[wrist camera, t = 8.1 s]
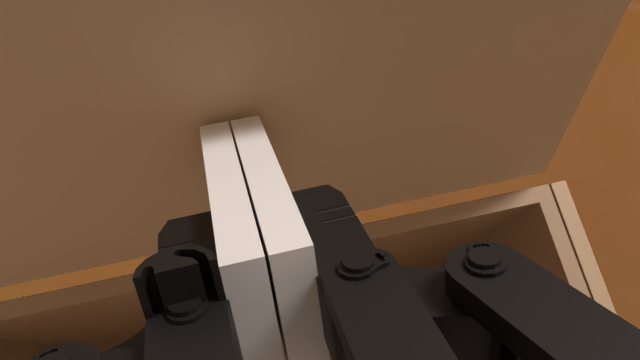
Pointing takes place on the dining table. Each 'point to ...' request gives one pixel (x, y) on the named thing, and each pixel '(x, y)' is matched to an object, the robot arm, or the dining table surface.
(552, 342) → the robot arm
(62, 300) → the carton
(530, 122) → the carton flap
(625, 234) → the dining table surface
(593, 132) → the dining table surface
